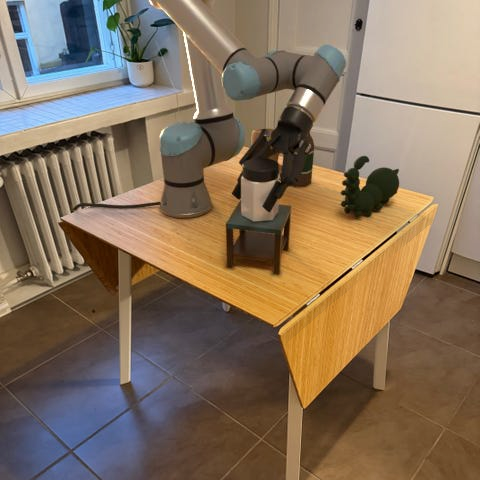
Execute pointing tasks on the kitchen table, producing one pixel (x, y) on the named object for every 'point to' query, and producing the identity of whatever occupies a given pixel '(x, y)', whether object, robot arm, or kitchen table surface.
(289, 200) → the kitchen table surface
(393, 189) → the toy figurine
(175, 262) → the kitchen table surface
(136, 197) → the kitchen table surface
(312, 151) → the beer bottle
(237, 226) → the stand
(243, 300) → the kitchen table surface
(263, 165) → the jar
